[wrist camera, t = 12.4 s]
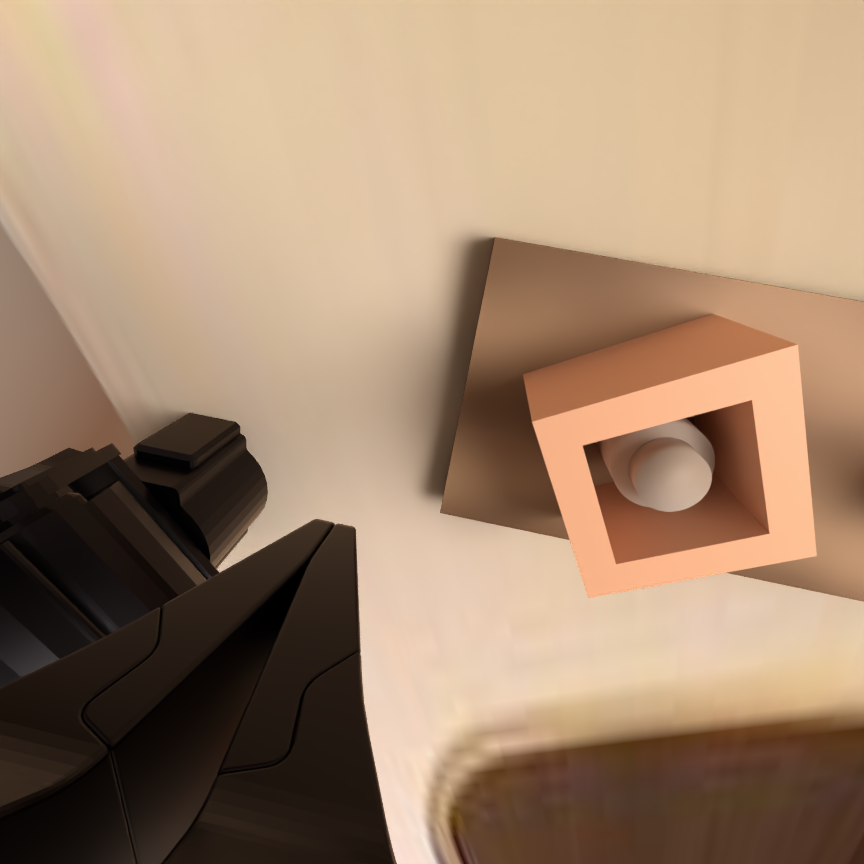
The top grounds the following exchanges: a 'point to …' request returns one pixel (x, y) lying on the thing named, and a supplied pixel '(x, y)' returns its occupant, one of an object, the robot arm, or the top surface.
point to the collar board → (632, 308)
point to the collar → (715, 418)
